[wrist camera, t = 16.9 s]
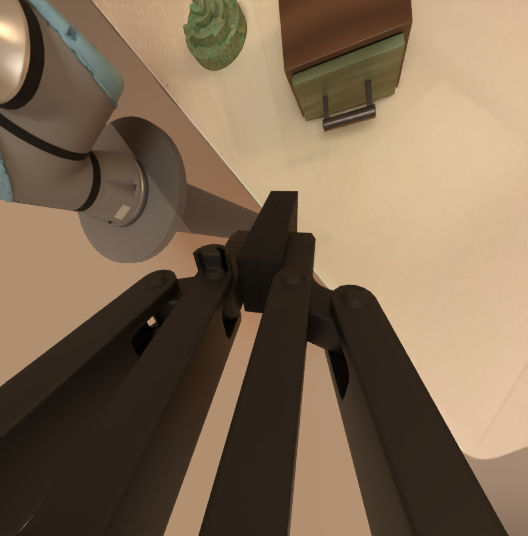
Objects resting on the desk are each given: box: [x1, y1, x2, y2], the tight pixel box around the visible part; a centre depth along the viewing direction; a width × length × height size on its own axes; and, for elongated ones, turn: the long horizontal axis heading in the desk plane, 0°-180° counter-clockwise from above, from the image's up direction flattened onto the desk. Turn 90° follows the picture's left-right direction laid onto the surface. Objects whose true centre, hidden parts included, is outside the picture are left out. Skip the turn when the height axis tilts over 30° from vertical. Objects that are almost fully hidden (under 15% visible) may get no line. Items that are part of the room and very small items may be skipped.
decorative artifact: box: [183, 0, 246, 70], centre depth 37 cm, size 10×7×10 cm
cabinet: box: [279, 0, 412, 117], centre depth 29 cm, size 15×13×10 cm
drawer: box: [292, 32, 405, 132], centre depth 29 cm, size 18×11×8 cm, turn 6°
